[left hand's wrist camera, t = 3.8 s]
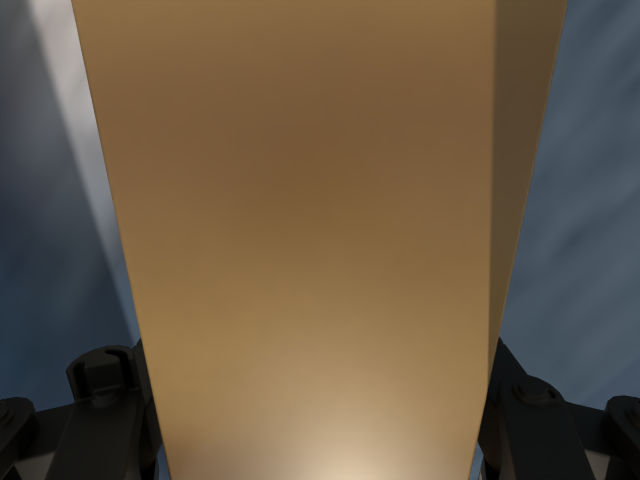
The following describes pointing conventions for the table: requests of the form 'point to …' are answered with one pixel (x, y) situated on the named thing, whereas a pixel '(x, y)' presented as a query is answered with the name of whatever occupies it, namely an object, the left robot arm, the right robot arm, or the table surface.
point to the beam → (319, 220)
